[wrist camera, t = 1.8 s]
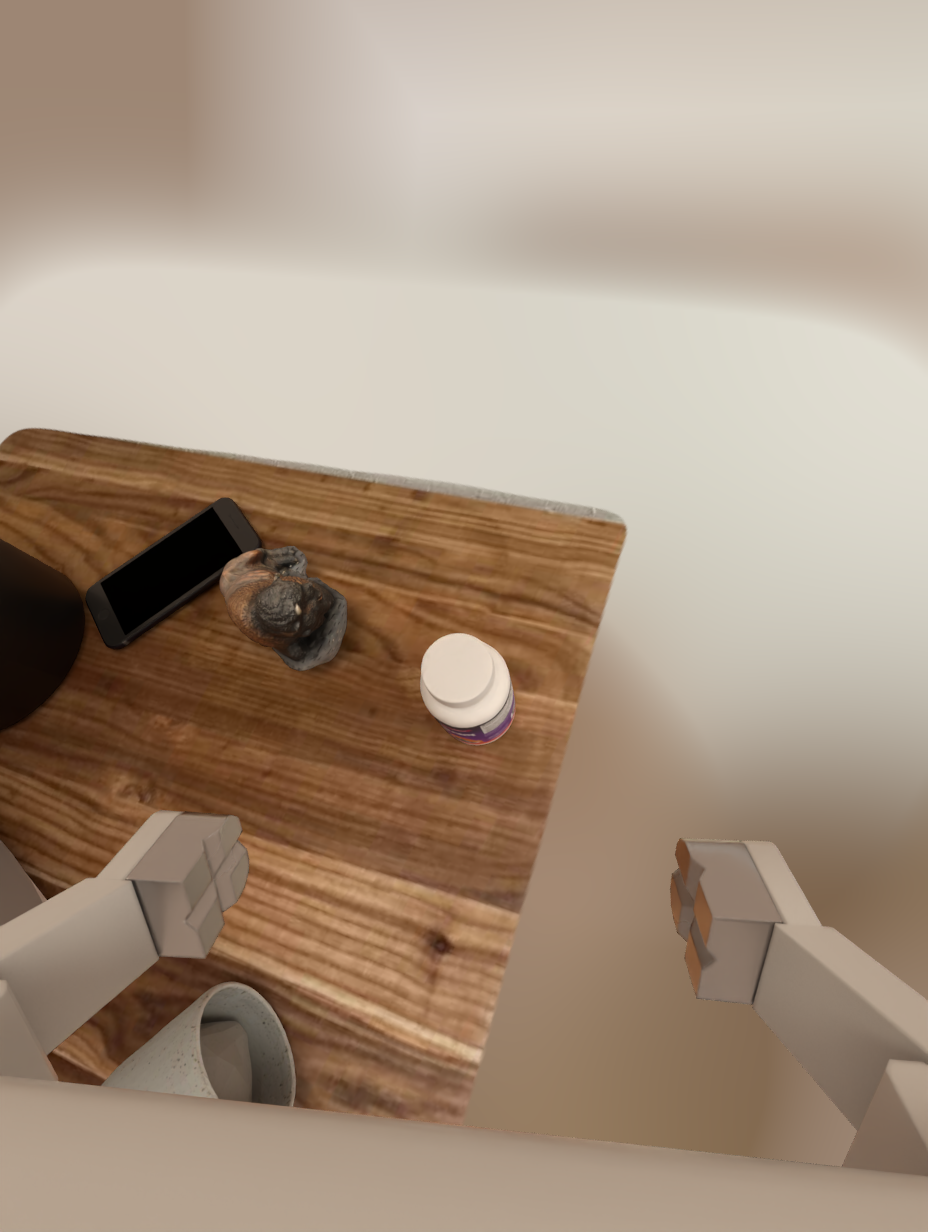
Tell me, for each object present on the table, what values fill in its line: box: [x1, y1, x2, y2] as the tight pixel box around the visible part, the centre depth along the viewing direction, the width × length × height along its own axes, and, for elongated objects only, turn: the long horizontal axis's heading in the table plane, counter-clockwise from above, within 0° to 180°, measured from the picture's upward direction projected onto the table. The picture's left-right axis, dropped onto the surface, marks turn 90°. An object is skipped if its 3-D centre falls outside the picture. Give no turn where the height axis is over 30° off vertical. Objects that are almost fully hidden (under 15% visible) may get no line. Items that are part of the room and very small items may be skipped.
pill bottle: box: [420, 633, 515, 745], centre depth 34 cm, size 5×5×10 cm
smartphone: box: [85, 498, 262, 649], centre depth 46 cm, size 7×15×1 cm, turn 127°
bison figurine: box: [220, 546, 347, 671], centre depth 38 cm, size 12×7×10 cm, turn 47°
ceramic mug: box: [101, 982, 296, 1107], centre depth 28 cm, size 11×8×8 cm
